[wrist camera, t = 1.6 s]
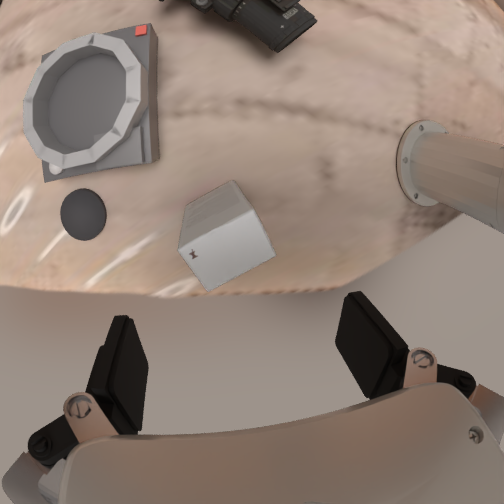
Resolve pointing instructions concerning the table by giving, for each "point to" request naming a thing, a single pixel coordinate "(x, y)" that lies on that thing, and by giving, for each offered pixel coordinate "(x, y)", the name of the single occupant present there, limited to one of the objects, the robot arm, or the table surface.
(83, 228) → the lens cap
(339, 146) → the table surface
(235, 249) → the skincare box
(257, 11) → the rifle scope
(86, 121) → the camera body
